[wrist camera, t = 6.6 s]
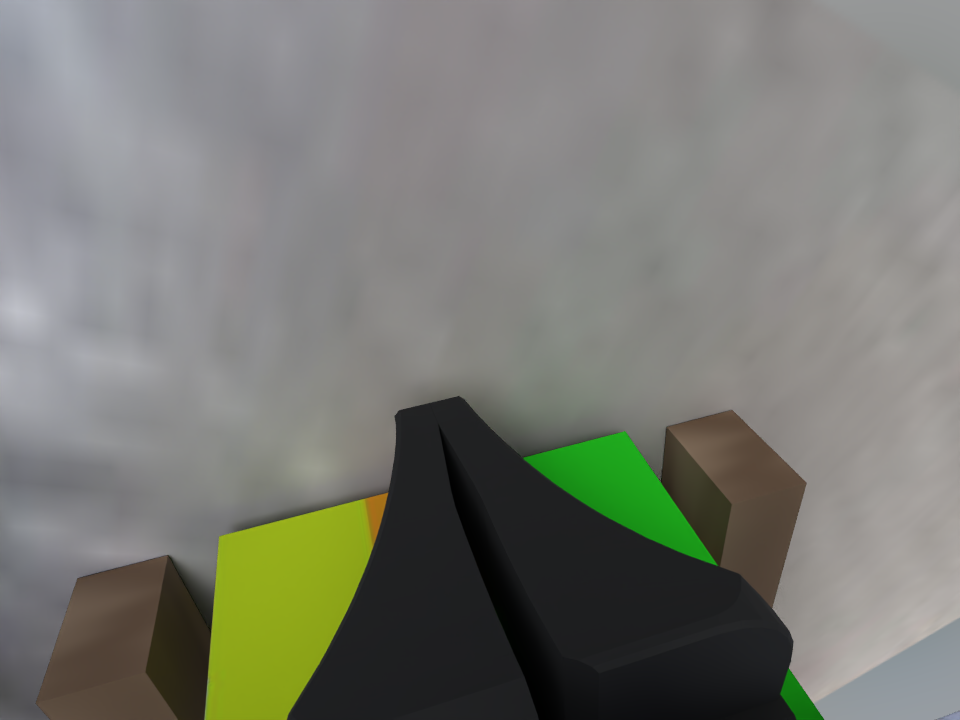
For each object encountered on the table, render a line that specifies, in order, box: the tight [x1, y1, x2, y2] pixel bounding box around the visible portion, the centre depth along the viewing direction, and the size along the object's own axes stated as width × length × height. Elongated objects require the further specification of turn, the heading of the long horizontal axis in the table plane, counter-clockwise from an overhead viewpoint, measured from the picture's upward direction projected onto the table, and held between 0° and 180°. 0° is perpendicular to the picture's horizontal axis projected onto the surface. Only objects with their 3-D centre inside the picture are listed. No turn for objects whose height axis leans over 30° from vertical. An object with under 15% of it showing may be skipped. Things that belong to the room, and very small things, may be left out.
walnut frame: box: [36, 410, 806, 720], centre depth 19 cm, size 17×15×3 cm
